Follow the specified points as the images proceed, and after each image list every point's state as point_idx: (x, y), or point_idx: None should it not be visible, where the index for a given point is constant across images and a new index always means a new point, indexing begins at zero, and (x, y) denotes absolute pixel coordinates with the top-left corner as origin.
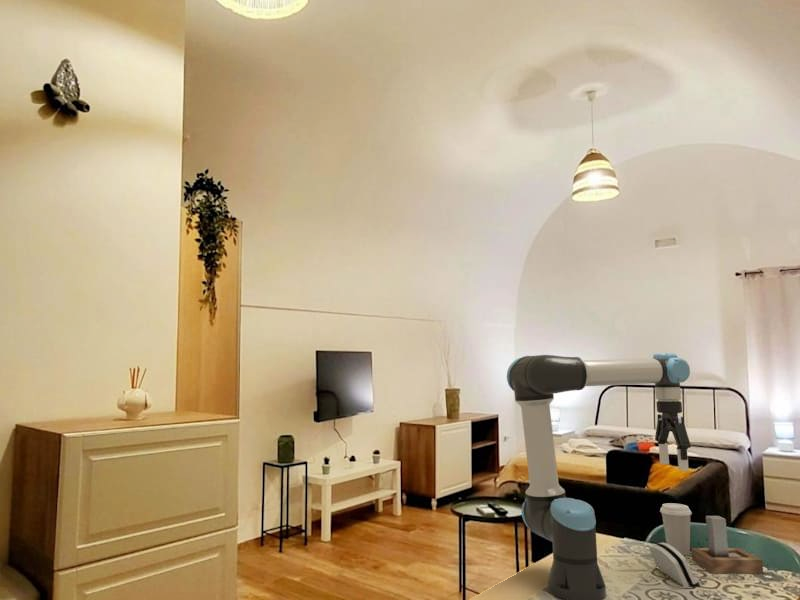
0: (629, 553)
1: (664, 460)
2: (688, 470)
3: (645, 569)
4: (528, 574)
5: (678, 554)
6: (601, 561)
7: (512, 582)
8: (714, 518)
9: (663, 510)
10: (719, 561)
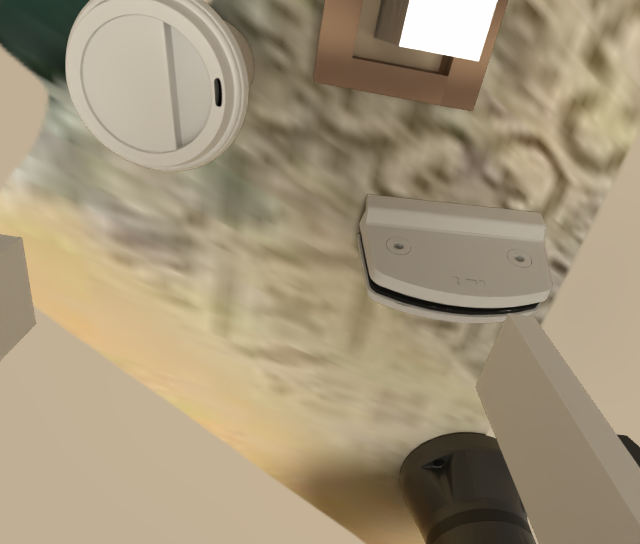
0: (205, 247)
1: (1, 311)
2: (535, 320)
3: (364, 281)
4: (337, 509)
5: (531, 301)
6: (274, 354)
7: (374, 539)
8: (471, 35)
9: (172, 170)
10: (483, 74)
